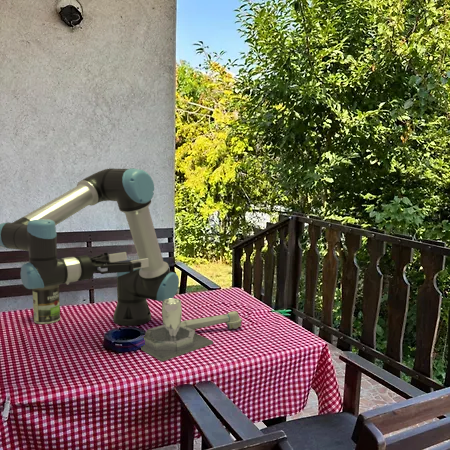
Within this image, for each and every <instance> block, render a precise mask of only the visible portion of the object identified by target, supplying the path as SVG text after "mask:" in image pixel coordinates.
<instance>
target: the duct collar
mask: <svg viewBox="0 0 450 450" xmlns="http://www.w3.org/2000/svg"><path fill="white" fill-rule="evenodd" d="M179 333H180V339H181V340H178V341H175V342H172V341H164V336H165V331H164V325H163V324H162V325H159V326H155V327H151V328H148V329H146V331H145V333H144V334H145V336H144V337H143V338H144V340H145V345H143V346H141V350H140V351H142V352H144V353H146V354H148V355H149V356H151V357H153V358H155V359H157V360H158V361H160V362H165V361H168V360H171V359H173V358H176V357H179V356H181V355H184V354H188V353H191V352H193V351H196V349H197V350H199V349H202V348H205V347H208V346H211V345H213V344H214V340H212V339H209V338H207V337H205V336H202V335H201V334H198V333H196V329H195V330H193V329H191V328H188V327H186V326H183V327H180V332H179Z"/></svg>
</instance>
